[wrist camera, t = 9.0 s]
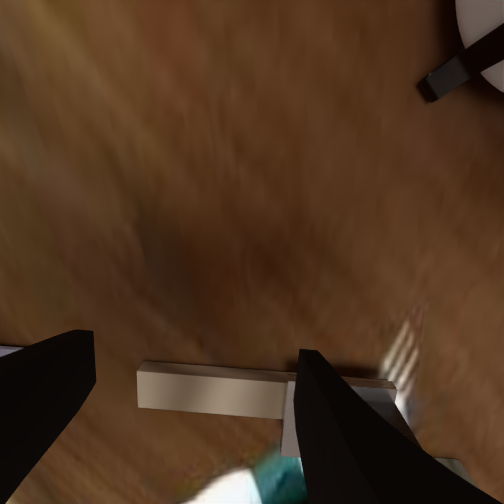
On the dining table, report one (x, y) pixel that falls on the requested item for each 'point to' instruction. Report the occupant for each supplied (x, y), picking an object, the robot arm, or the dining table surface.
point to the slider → (370, 391)
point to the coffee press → (472, 49)
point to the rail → (212, 389)
